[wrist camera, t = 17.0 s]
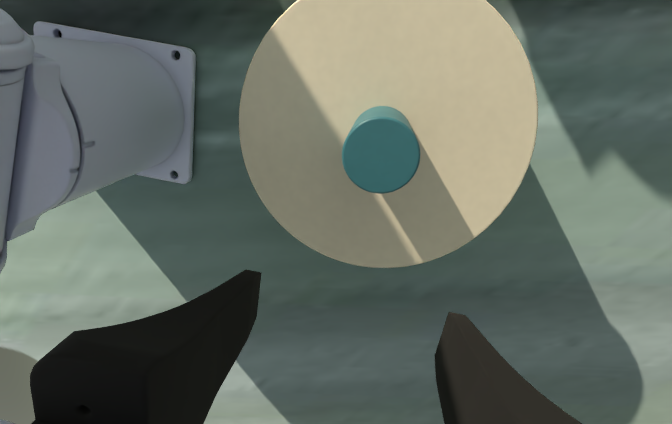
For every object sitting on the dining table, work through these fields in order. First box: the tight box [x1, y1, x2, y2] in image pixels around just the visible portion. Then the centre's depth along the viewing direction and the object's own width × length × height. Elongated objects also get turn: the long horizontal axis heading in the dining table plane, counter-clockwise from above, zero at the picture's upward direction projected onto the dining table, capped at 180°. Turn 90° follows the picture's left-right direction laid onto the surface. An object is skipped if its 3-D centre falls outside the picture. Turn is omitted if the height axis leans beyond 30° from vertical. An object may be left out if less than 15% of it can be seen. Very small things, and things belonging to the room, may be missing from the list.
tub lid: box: [239, 0, 538, 268], centre depth 15 cm, size 13×13×5 cm
